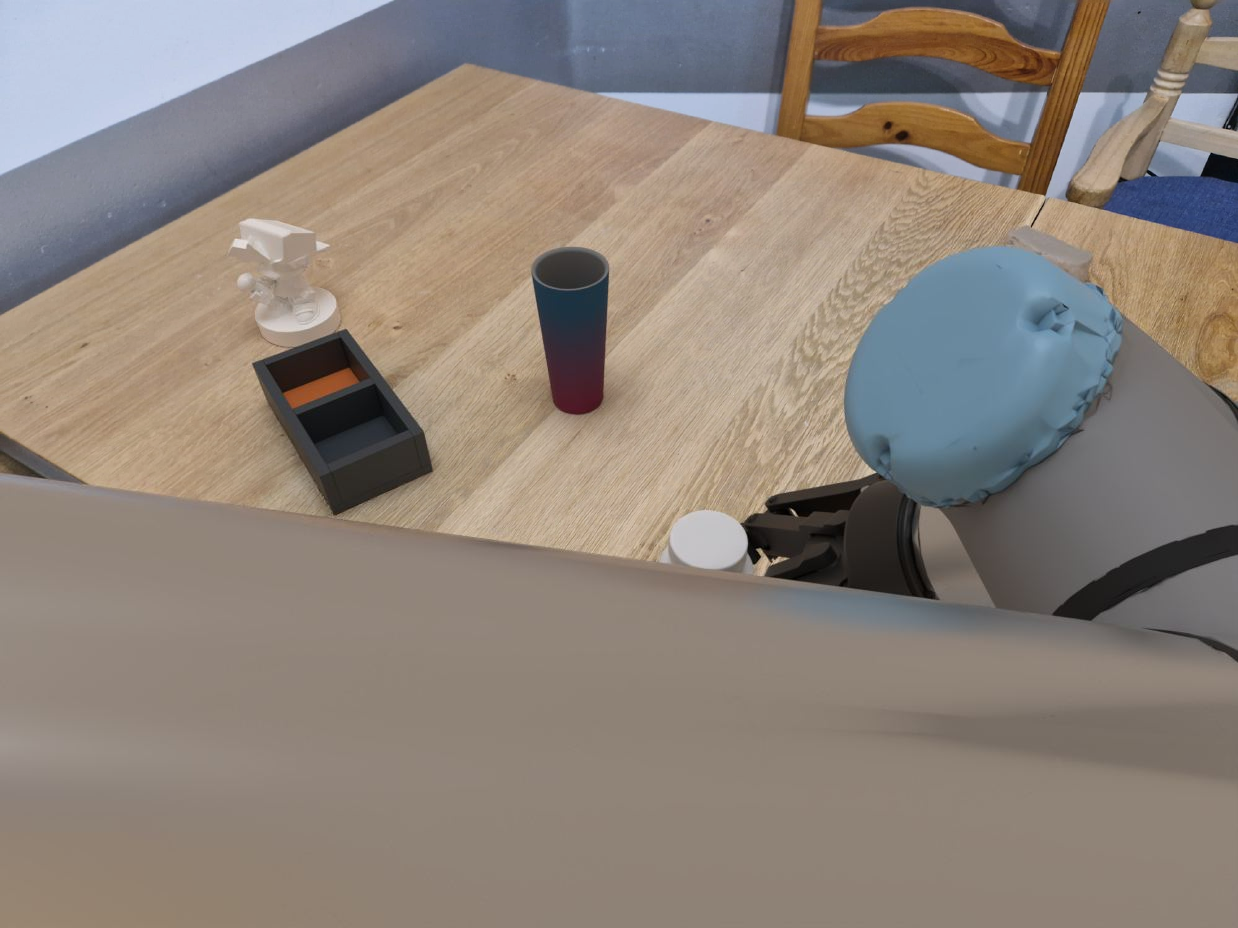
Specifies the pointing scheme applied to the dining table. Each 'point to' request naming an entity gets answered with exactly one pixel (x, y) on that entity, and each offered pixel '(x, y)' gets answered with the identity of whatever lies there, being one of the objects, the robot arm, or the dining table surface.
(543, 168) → the dining table surface
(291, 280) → the character figurine
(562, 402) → the cup
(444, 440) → the dining table surface
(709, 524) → the pill bottle
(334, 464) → the holder
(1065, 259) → the grey brown stone block
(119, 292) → the dining table surface
